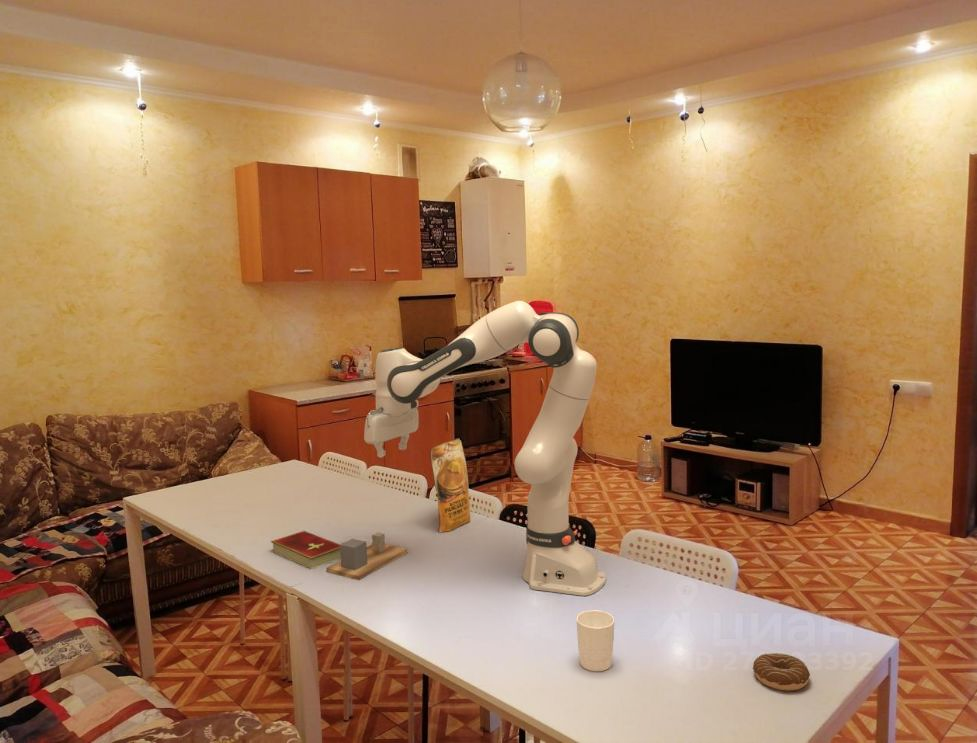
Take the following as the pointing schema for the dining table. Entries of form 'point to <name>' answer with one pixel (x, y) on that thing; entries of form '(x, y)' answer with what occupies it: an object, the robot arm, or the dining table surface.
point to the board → (369, 562)
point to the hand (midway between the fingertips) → (392, 453)
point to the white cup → (595, 639)
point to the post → (378, 543)
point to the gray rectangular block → (353, 554)
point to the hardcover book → (307, 549)
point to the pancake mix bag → (451, 485)
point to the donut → (781, 671)
